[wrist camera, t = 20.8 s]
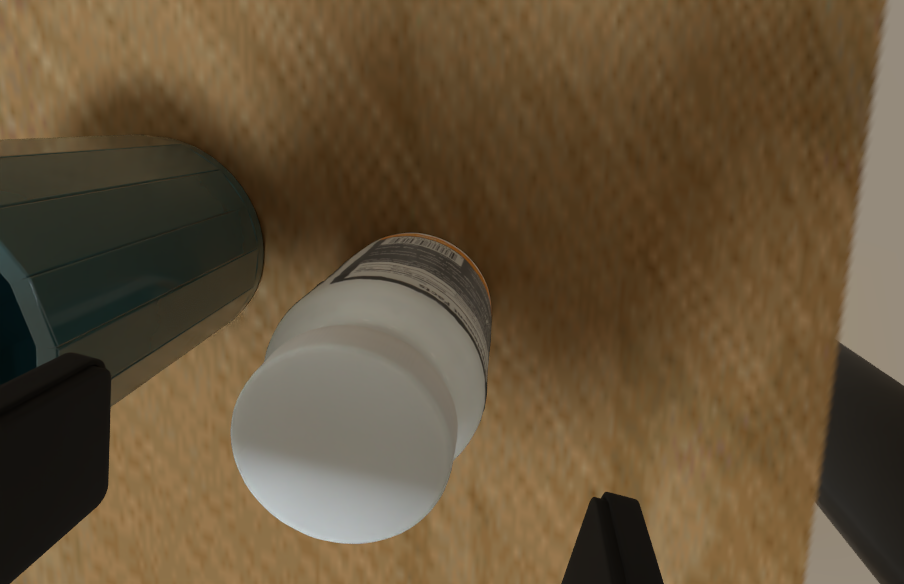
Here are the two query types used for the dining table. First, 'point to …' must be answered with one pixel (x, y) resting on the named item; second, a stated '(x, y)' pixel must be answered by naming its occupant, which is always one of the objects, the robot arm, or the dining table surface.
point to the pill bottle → (368, 392)
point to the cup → (119, 253)
